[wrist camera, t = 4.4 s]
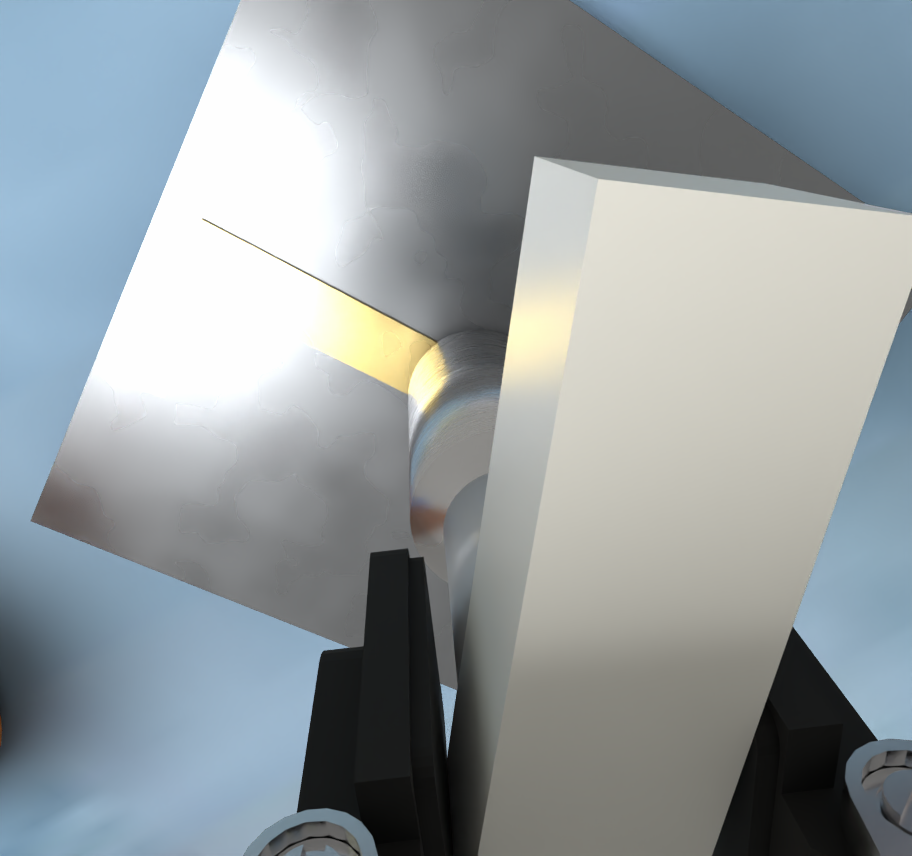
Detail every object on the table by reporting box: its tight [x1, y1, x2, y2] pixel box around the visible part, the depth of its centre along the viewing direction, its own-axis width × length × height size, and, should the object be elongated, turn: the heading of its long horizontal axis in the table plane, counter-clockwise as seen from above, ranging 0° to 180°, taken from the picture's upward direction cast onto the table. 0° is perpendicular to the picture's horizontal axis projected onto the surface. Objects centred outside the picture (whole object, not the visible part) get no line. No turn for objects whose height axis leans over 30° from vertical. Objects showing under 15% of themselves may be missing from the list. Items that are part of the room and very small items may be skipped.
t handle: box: [443, 156, 912, 856], centre depth 11 cm, size 3×14×7 cm, turn 174°
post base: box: [31, 0, 912, 690], centre depth 18 cm, size 18×18×8 cm
